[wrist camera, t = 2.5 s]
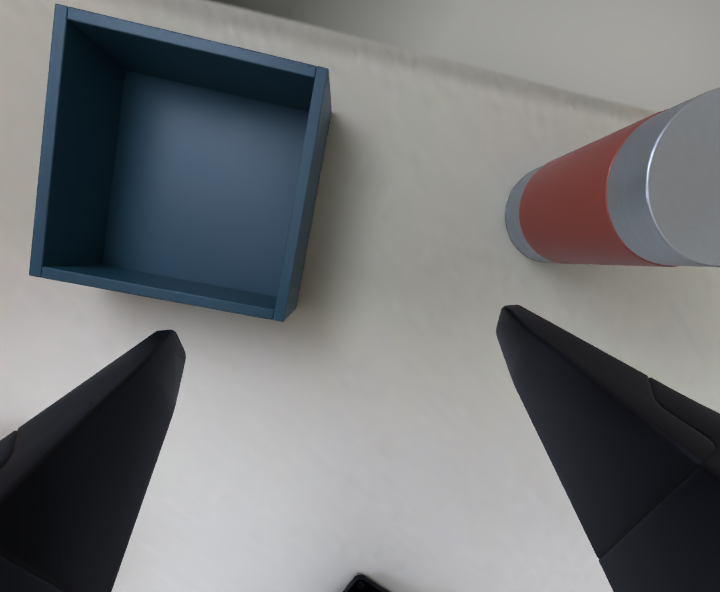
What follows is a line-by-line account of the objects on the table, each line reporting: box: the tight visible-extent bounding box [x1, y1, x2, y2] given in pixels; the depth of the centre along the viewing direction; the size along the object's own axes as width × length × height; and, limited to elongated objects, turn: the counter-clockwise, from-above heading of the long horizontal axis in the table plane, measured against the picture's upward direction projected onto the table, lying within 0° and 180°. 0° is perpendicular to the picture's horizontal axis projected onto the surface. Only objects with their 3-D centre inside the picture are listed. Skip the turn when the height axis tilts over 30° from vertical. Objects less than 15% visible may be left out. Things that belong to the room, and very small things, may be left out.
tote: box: [29, 4, 331, 322], centre depth 20 cm, size 13×13×5 cm
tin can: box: [506, 88, 720, 267], centre depth 18 cm, size 7×7×11 cm
